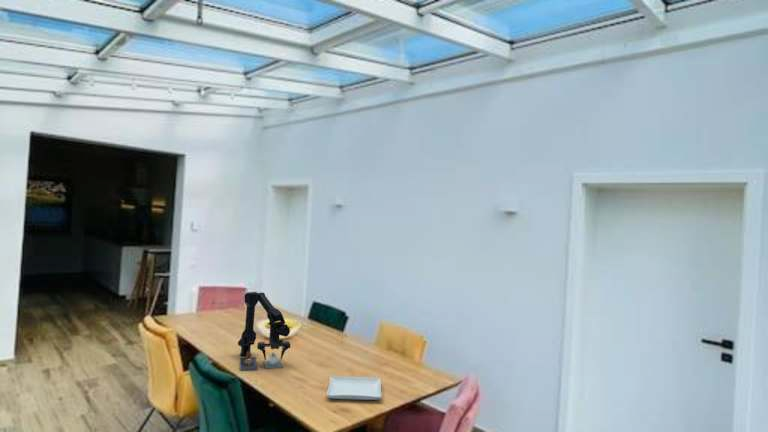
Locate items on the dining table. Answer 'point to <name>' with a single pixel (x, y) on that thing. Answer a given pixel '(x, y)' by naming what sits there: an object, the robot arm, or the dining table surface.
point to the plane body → (248, 363)
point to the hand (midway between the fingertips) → (273, 359)
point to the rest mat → (267, 365)
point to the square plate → (354, 388)
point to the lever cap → (273, 359)
